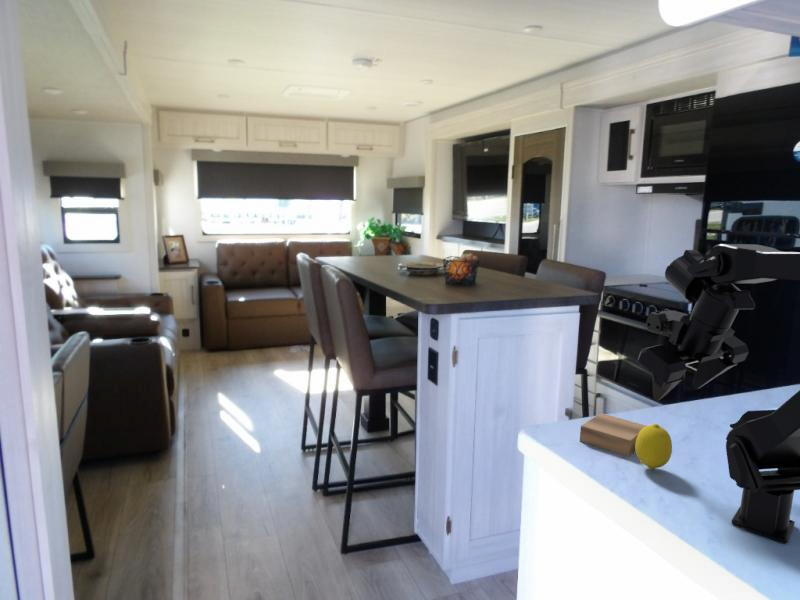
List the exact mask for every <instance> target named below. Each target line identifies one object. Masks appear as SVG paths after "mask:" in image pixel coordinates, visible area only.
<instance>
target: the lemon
mask: <svg viewBox="0 0 800 600" xmlns="http://www.w3.org/2000/svg"><path fill="white" fill-rule="evenodd" d="M672 442H673V441H672V438H671V435H670V434H669V432H668V431H667V430H666V429H665V428H663V427H662V426H660V425H659V424H658V423H653V424H649V425H646V427H644V428H643V429H641V431H640V432H639V434H638V436H637V439H636V443H635V450H636V451H635V454H636V456H637V459H638V460H639V462H640V463H642V464H643V465H645V466H646V467H647V468H648V469H649V470H651V471H653V470H654V469H657V468H661V467H664V466H665V465H666V464H667V463H669V461H670V459H671V457H672V453H673V443H672Z"/></svg>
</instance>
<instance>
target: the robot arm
mask: <svg viewBox="0 0 800 600" xmlns="http://www.w3.org/2000/svg"><path fill="white" fill-rule="evenodd" d="M664 277H665V280H666V281H667V282H668V283H669V284H670V285H671V286H672V287H673V288H674V289H676V291H678V293H679V294H680V295H682V297H683V298H685V300H686V301H690V302H695V305H694V306H693V308H692V312H691V313H690V314H688V313H684V312H680V311H677V310H671V309H669V310H664V311H652V312H650V313H649V316H648V318H647V320H646V321H645V323H646V329H647V330H648V331H649V332H651V333H653V334H659V335H662V336H666V337H670V338H669V340H668V341H669V342H670V343H671V344H672V345H673V346H678V347H677V349H678V351H672V350H671V349H670V348H668V347H667V346H666V345H665V344H658V345H653V346H649V347H645V348H642V349H641V350H640V352H639V355H638V357H637V361H638V363H640V364H641V365H642V366H643V367H645V369H647V370H648V371H649V372H651V378H652V379H651V380H652V397H653V398H654V400H656V401H657V402H658V401H661V400H662V398H664V397H665V396H667V395H668V394H669V393H670V392H671V390H673V389H674V388H675V387H676V386H677V385H678V384H680V383H681V382H682V381H683V378H682V377H683V376H684V375H685V374H686V372H687V370H688V369H687V366H688V365H691V364H694V363H695V364H696V363H698V365H697V368H696V371H695V374H694V376H693V380H692V384H691V385H692V387H693V388H694V389H695V390H699V389H700V388H702V387H704V386H705V385H706V384H708V383H709V382H711V381H712V380H714V379H715V378H717V377H719V376H720V375H722V374H724V373H725V372H727V371H728V370H730V369H731V368H733V367H735V366H737V365H738V363H742V362H744V361H745V360H746V359H747V357H748V355H749V353H750V350H749V347H748V344H746V343H745V342H744V341H743V340H740V338H738V337H737V336H735V335H734V334H735V332H736V330H734V329H733V328H731V327H732V324H733V322H734V321H735V319H736V316H737V315H738V313H739V310H754V309H755V308H756V305H755V301H754V300H753V298H752V297H751V292H750V290H741V289H740V288H739V287H737V286H736V285H735V284H760V283H767V282H773V281H776V280H786V281H787V280H788V281H800V251H799V252H797V251H782V250H778V249H777V248H775V247H771V246H766V245H761V244H756V243H755V244H748V243H747V244H743V243H742V244H741V243H734V244H733V243H719V244H716V245H714V246H713V247H712V250H711V251H710V252H709V254H707V255H706V256H703V255H702V254H701V252H700V251H698V250H697V249H685V250H684V252H683V255H681V256H678V257H677V258H675V259H674V260H673V261H671V263H670V264H669V265H667V267H666V268H665V272H664ZM729 427H730V428H731V429H730V430H729V432H728V433H727V435H726V438H725V440H726V441H725V442H726V443H725V452H726V457H727V466H728V474H729V478H730V479H731V480H733V481H735V483H736V484H735V485H736V486H737V487H739V488H741V489H742V494H741V500H740V506H739V507H738V508H737V511H736V513H735V514H734V516H733V517H732V519H731V525H732V526H735V527H738V528H740V529H742V530H746V531H749V532H752V533H754V534H758V535H760V536H764V537H766V538H769V539H772V540H774V541H777V542H778V543H779V542H780V543H783V544H788V542H789V540H790V537H791V535H792V533H793V531H794V527H795V524H796V523H795V521H794V520H792V519H791V513H792V507H793V500H794V494H795V491H800V390H798V391H797V392H795V394H794V395H792V396H791V397H789V399H788V400H786V401H785V402H783V404H781V405H780V406H779V407H777V408H776V409H763V410H762V409H758V410H747V411H745V412H744V413H743V414H742V415H741V417H740V418H739V419H738V420H737V421H736V422H735V423H730V424H729ZM774 469H776V470H774Z"/></svg>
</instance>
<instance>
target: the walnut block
mask: <svg viewBox="0 0 800 600" xmlns="http://www.w3.org/2000/svg"><path fill="white" fill-rule="evenodd" d="M646 426H647V425H644V424H643V423H642V424H641V423H638V422H634V421H631V420H627V419H624V418H620V417H616V416H613V415H609V414H606V413H603V412H600V413H599V414H597V415H596V416H594V417H593V418H591V419H590V420H588V421H586V422H585V423H583V424H582V425H580V431H579V432H580V434H579V442H582V443H585V444H587V445H591V446H594V447H597V448H600V449H602V450H606V451H610V452H612V453H616V454H620V455H622V456H625V457H630V456H631V455H632V454H634V453H636V450H635V443H636V439H637V436H638V434H639V432H640V431H641V429H643V428H644V427H646Z"/></svg>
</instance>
